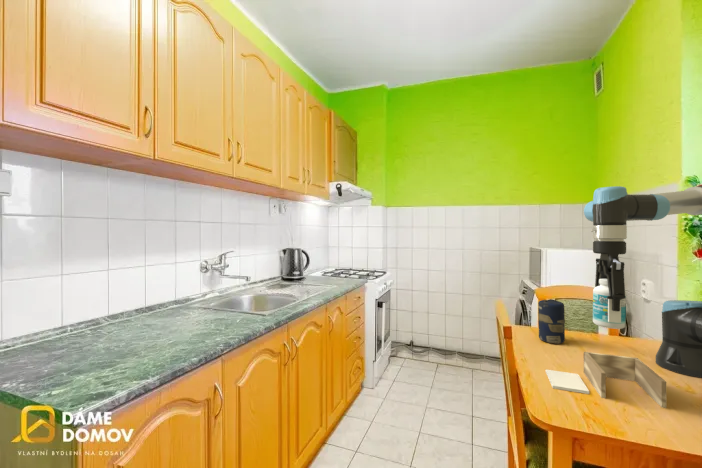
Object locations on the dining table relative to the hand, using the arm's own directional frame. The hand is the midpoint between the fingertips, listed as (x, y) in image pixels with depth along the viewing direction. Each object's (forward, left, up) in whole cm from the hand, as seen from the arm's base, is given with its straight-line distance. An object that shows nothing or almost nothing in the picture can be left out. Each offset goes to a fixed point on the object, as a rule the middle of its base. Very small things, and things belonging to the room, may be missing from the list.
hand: (608, 318), depth 92 cm
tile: (+10, -2, -21) cm, 24 cm away
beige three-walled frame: (-4, -3, -21) cm, 22 cm away
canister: (+7, -43, -22) cm, 49 cm away
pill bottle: (0, 0, -2) cm, 2 cm away
